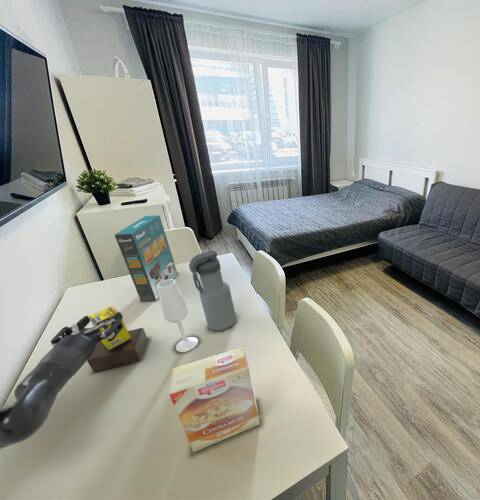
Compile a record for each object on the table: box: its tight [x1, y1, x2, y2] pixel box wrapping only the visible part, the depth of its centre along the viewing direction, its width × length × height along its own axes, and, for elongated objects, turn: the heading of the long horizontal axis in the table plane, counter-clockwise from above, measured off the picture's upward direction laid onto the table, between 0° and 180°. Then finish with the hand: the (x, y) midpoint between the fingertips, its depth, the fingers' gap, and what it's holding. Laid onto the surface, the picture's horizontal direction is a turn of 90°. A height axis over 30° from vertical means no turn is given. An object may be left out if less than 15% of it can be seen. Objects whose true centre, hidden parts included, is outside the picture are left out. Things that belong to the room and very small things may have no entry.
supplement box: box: [88, 305, 131, 351], centre depth 82 cm, size 6×6×11 cm
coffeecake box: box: [168, 346, 261, 453], centre depth 61 cm, size 15×7×20 cm, turn 114°
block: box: [86, 327, 149, 373], centre depth 85 cm, size 12×10×5 cm
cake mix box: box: [114, 215, 178, 302], centre depth 116 cm, size 22×6×30 cm, turn 6°
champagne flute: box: [157, 278, 199, 353], centre depth 84 cm, size 7×7×24 cm
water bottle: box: [188, 250, 237, 332], centre depth 93 cm, size 10×10×28 cm
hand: (104, 316), depth 80 cm, fingers open, 8 cm apart
